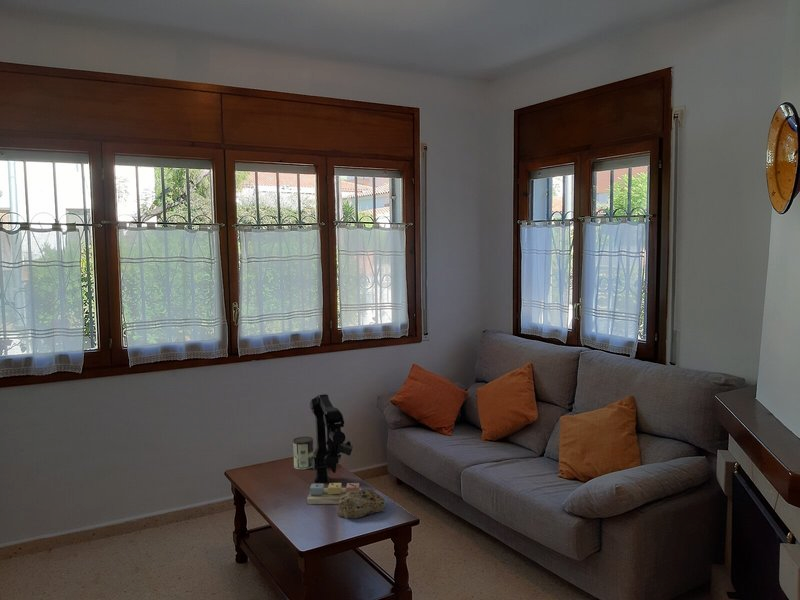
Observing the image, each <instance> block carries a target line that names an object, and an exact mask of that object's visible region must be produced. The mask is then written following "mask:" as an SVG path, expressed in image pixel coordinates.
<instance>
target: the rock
mask: <svg viewBox="0 0 800 600" xmlns="http://www.w3.org/2000/svg"><path fill="white" fill-rule="evenodd" d="M338 503H339V504H337V505H338V506H337V507H338V509H337V516H339V517H341V518H343V519H349V518H350V519H357V518H358V519H359V518H362V517H364V515H365V516H368V515H371V514H374V513H380V512H383V511H384V508H385V505H386V500H385V498H383V497H382V496H381V495H380V494H379V493H377V492H376V491H375V490H374V489H371V488H364V489H363V488H362V490H355V491H354V492H352V491H350V492H347V494H345V495H344V496H342V497H341V498H340V500H339V501H338Z"/></svg>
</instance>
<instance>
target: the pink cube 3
mask: <svg viewBox="0 0 800 600" xmlns="http://www.w3.org/2000/svg"><path fill="white" fill-rule="evenodd" d="M345 488H346V494H347V492H350V491H352V492H354V491H355V490H360V489H359V488H360V482H347V483H346V486H345Z"/></svg>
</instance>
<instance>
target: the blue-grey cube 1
mask: <svg viewBox="0 0 800 600" xmlns="http://www.w3.org/2000/svg"><path fill="white" fill-rule="evenodd" d="M324 488H325V483H311V484H310V487H309V493H310V495H323V492H324Z"/></svg>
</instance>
